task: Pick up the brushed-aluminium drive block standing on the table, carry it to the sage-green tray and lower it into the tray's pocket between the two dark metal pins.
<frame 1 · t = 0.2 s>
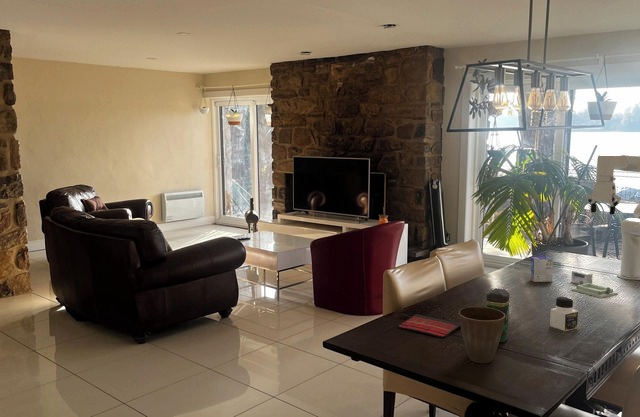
hand: (602, 213, 280), 36 cm above the table, tool pointing down, fingers open, 9 cm apart
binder: (429, 329, 220), on the table
plant pot: (480, 359, 188), on the table
tray: (594, 292, 268), on the table
drive: (581, 283, 284), on the table
medicine bottle: (563, 328, 218), on the table
coffee jar: (496, 339, 207), on the table
ink cartridge box: (541, 281, 291), on the table
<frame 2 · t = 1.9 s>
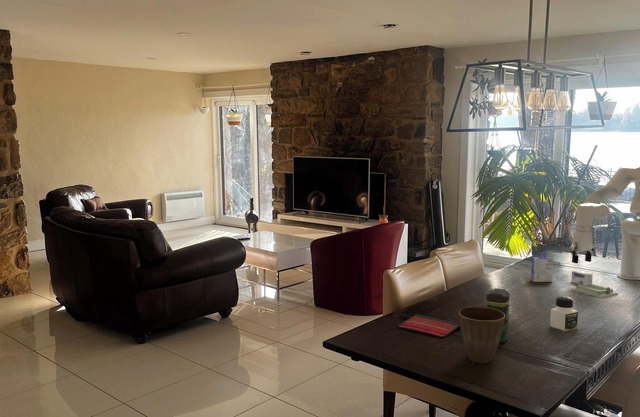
hand: (581, 262, 283), 11 cm above the table, tool pointing down, fingers open, 9 cm apart
nothing on the table moved.
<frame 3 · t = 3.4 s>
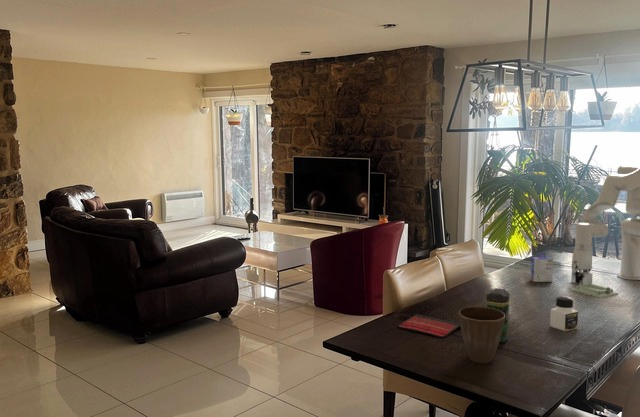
hand: (581, 282, 284), 1 cm above the table, tool pointing down, fingers closed on drive, 4 cm apart
drive: (581, 283, 284), on the table, touching gripper
everything else where it was.
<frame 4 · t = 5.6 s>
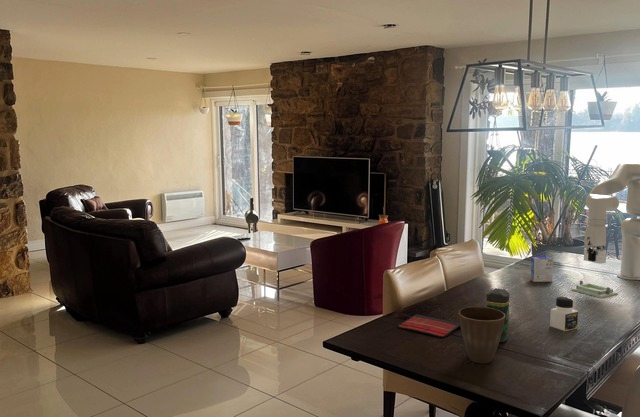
hand: (594, 260, 267), 16 cm above the table, tool pointing down, fingers closed on drive, 4 cm apart
drive: (594, 261, 267), point 15 cm above the table, touching gripper
everything else where it was.
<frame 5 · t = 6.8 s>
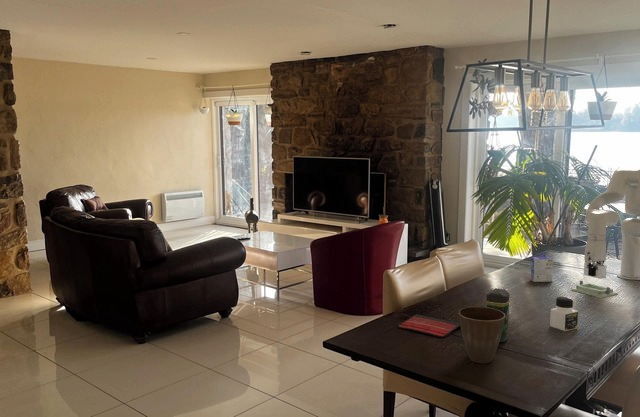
hand: (594, 274, 267), 9 cm above the table, tool pointing down, fingers closed on drive, 4 cm apart
drive: (594, 276, 267), point 8 cm above the table, touching gripper
everything else where it was.
when the fingers open (3 cm above the table, at t = 7.9 s): drive drops 1 cm, resting on tray.
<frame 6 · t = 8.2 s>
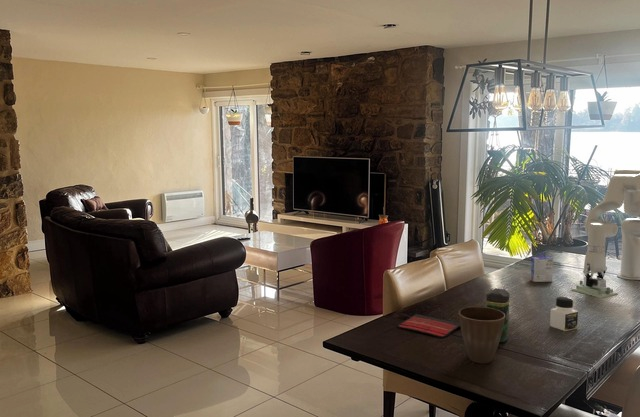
hand: (594, 285, 267), 3 cm above the table, tool pointing down, fingers open, 6 cm apart
drive: (594, 290, 268), point 1 cm above the table, touching tray
everything else where it was.
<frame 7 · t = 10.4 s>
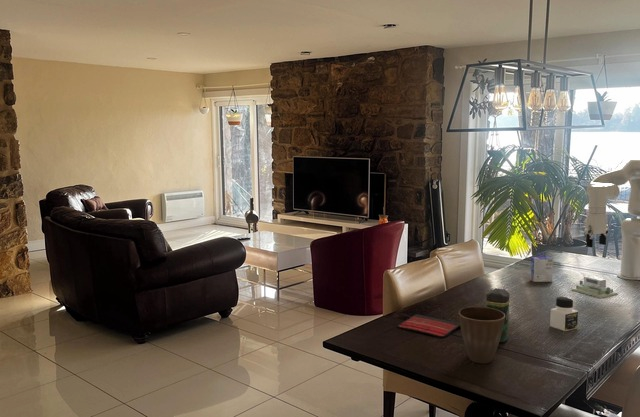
hand: (595, 245, 270), 22 cm above the table, tool pointing down, fingers open, 9 cm apart
nothing on the table moved.
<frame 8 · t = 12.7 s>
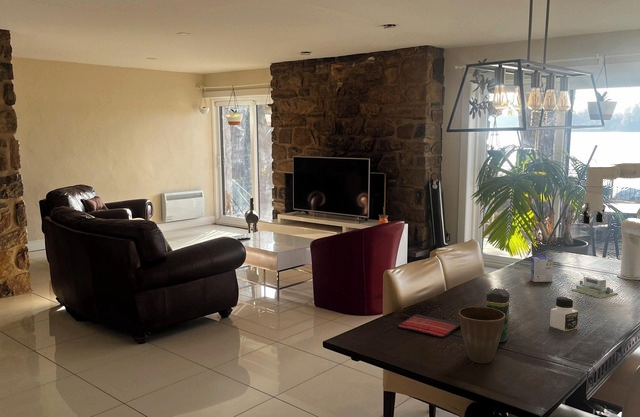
hand: (592, 222, 286), 30 cm above the table, tool pointing down, fingers open, 9 cm apart
nothing on the table moved.
at the end: drive 0.1 cm off-centre on the tray, point 1.0 cm above the tray's base; drive tilted 0°; the gripper is holding nothing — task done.
